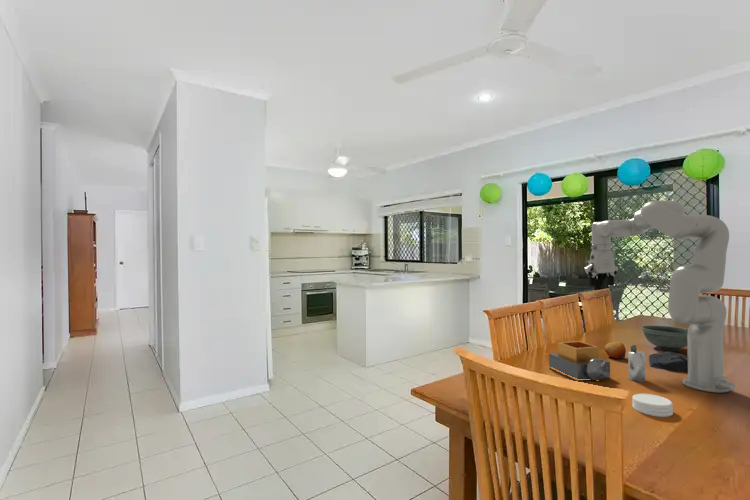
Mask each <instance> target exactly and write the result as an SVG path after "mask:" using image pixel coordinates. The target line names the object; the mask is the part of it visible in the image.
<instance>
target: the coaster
mask: <svg viewBox="0 0 750 500" xmlns="http://www.w3.org/2000/svg"><path fill="white" fill-rule="evenodd" d="M631 397H632V401H631V402H632V408H633V409H634V410H635V411H637V412H638V413H641V414H644V415H648V416H652V417H659V418H668V417H671V416H673V414H674V411H673V410H674V407H673V406H674V404H673V402H672V401H671V400H670V399H668V398H666V397H663V396H661V395H656V394H651V393H637V394H636V393H635V394H634V395H632V396H631Z"/></svg>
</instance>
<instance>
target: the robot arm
mask: <svg viewBox="0 0 750 500" xmlns="http://www.w3.org/2000/svg"><path fill="white" fill-rule="evenodd" d="M685 213H686V210H685V207H684V206H683V205H682V203H680V202H678V201H675V200H652V201H651V200H650V201H649V202H647V203H645V204H644V205H643V206H642V207H641V208H640V209H639V210H637V211H635V213H634V215H633V218H630V219H609V220H608V219H607V220H603V221H595V222H593V223H592V224H591V246H590V249H591V252H590V256H589V264H588V265H587V266H585V267H584V271H585V273H586V274H585V275H587V277H588V278H589V286H590V287H596V286H597V278H596V276H597V274H606V275H607V276H606V277H607V279H606V280H607V281H606V282H607V283H606V284H607V286H611V287H612V286H615V277H616V275H617V274H618V270H619V266H617V265H616V264H615V259H614V258H615V257H614V254H613V251H611V250H612V248H611V245H612V240H611V239H612V238H628V237H633V236H637V235H642V234H644V233H646V232H647V231H649V230H652V229H655V230H657V231H659V232H660V233H662V234H663V235H666V236H667V237H670V238H672V239H676V240H677V239H678V240H683V239H684V240H691V239H693V240H695V239H697V240H699V242H698V243H697V245H696V246H695V248H694V250H693V253H692V254H693V256H692V257H693V259H692V264H687V265H681V266H679V267H677V268H676V269H674V271H673V272H672V274H671V276H670V279H669V280H670V281H669V282H670V283H669V292H668V302H667V303H668V305H667V306H668V307H667V308H668V314H669V316H670V317H671V319H672V320H673V321H674V322H675V323H678V324H681V325H689V326H688V328H687V329H688V334H687V347H686V348H687V359H688V372H687V377H684V378H682V379H681V381H682V384H683V385H685V386H687V387H688V388H691V389H694V390H698V391H702V392H710V393H717V394H718V393H722V394H723V393H728V392H730V391H734V390H735V388H736V386H737V385H736V383H733V382H729V381H728V377H727V376H725V374H724V371H725V370H724V366H725V365H724V330H725V329H724V328H725V323H726V318H727V315H728V314H727V308H726V307H727V306H726V304H725V303H724V302H723V301H722V300H721V299H720V298H718V297H715V296H713V295H705V294H704V295H700V293H701V294H702V293H712V292H716V291H720V290H721V288H722V287H723V285H724V281H725V273H726V261H727V251H728V247H729V242H730V241H729V240H730V230H729V228H728V226H727V223H725V222H724V221H723V220H721V219H720V218H718V217H717V216H716V217H715V216H713V215H710V214H709V215H708V214H685Z"/></svg>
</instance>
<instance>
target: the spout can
mask: <svg viewBox="0 0 750 500" xmlns="http://www.w3.org/2000/svg"><path fill="white" fill-rule="evenodd" d="M627 353H628V355H627V358H628V363H627V364H628V380H630V381H631V382H636V381H637V382H636V383H644V382H646V381H647V380H646V376H647V375H646V374H647V373H646V368H647V367H646V353H645V352H644V351H640V350H639V351H638V350H637V344H630V350H629V351H627Z"/></svg>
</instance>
